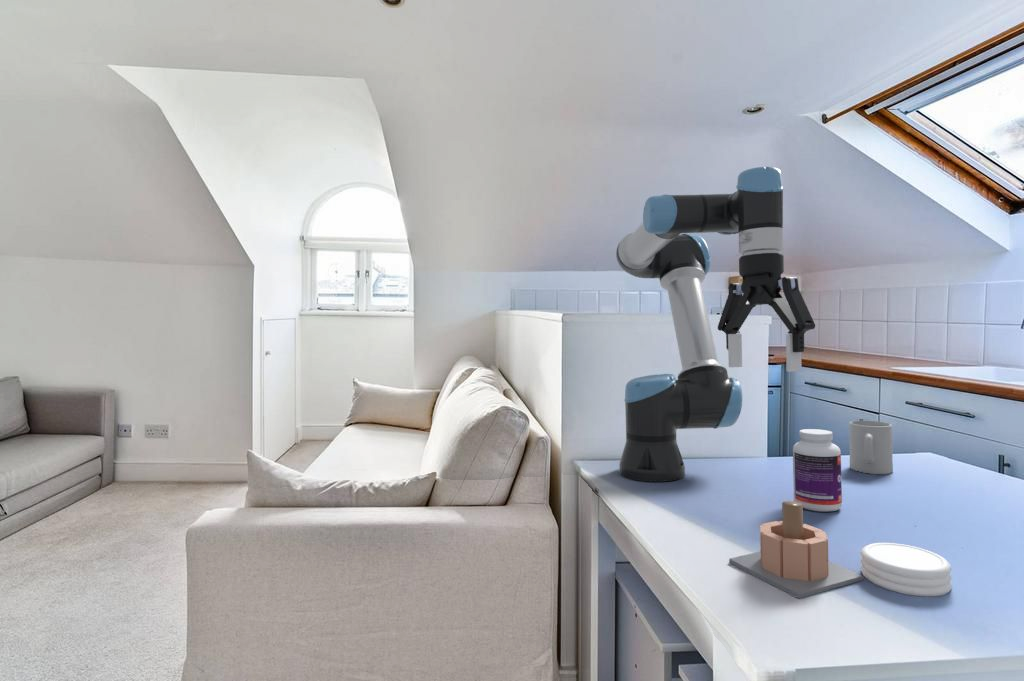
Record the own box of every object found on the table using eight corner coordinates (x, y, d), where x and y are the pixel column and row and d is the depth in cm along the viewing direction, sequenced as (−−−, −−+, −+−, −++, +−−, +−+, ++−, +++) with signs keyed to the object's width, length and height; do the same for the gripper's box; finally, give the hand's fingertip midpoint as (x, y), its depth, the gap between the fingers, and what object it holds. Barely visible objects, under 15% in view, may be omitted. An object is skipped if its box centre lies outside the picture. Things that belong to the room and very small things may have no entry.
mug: (851, 463, 136) (850, 419, 136) (893, 468, 131) (892, 422, 131) (846, 475, 126) (846, 427, 126) (892, 480, 121) (891, 430, 121)
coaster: (971, 592, 72) (970, 565, 71) (909, 603, 69) (909, 575, 69) (900, 561, 81) (899, 537, 81) (843, 570, 79) (843, 546, 79)
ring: (747, 561, 81) (747, 527, 81) (790, 550, 84) (789, 518, 84) (796, 585, 73) (796, 547, 73) (841, 572, 76) (840, 536, 76)
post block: (729, 562, 82) (728, 498, 82) (789, 548, 86) (788, 487, 86) (798, 598, 71) (797, 524, 71) (863, 580, 75) (862, 510, 75)
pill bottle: (849, 514, 101) (847, 435, 100) (801, 513, 102) (799, 435, 102) (832, 500, 109) (831, 427, 108) (788, 499, 110) (787, 427, 110)
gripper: (698, 262, 112) (700, 366, 113) (804, 243, 89) (806, 374, 90) (726, 262, 115) (728, 364, 115) (837, 244, 92) (839, 372, 92)
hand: (762, 369), depth 103 cm, fingers open, 13 cm apart
